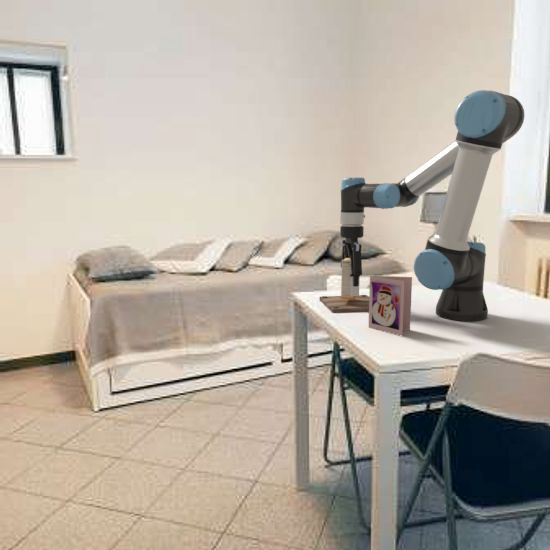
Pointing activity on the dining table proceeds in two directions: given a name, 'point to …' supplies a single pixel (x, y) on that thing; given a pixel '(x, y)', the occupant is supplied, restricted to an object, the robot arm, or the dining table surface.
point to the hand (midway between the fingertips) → (350, 292)
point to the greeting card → (390, 303)
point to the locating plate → (346, 303)
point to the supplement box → (346, 279)
